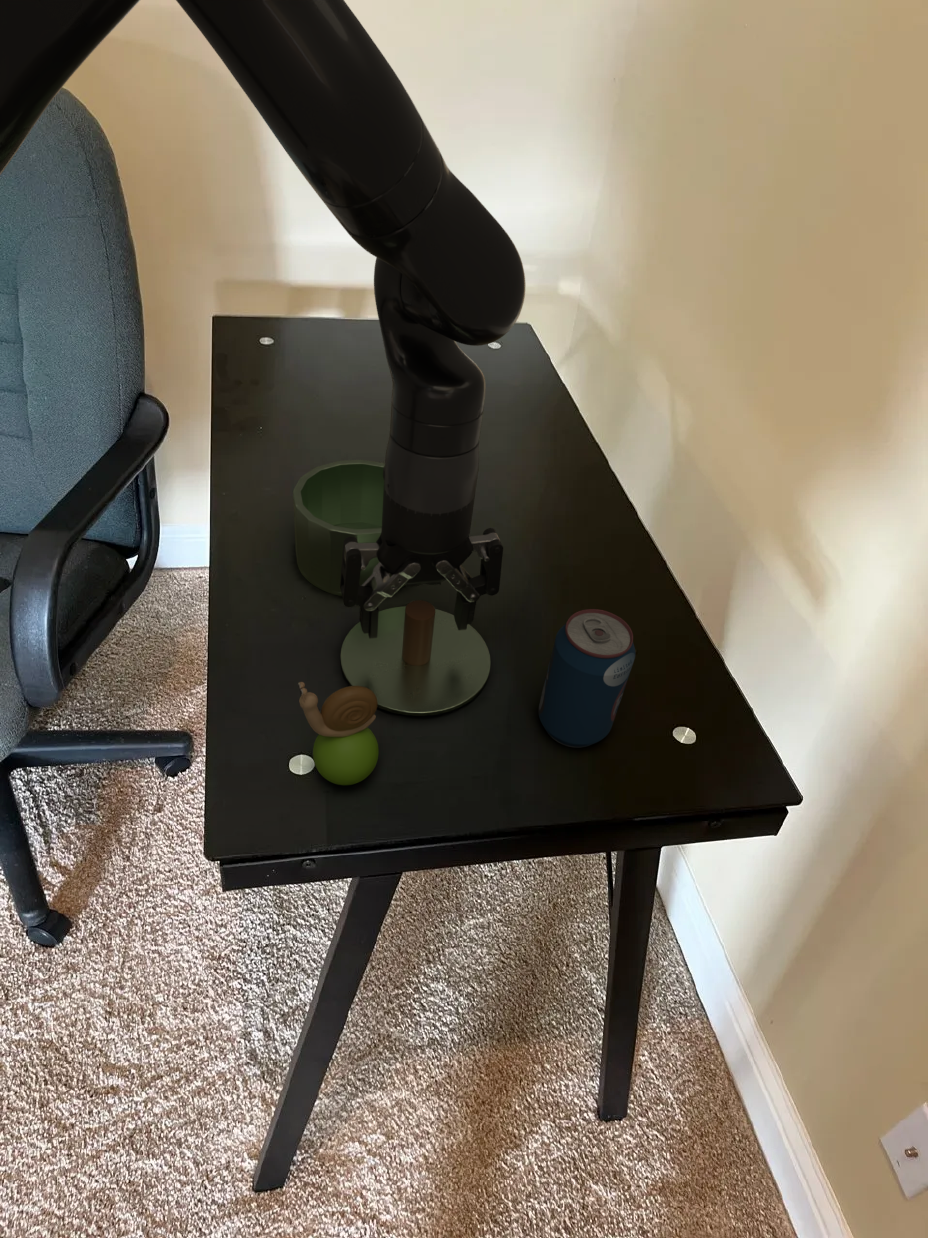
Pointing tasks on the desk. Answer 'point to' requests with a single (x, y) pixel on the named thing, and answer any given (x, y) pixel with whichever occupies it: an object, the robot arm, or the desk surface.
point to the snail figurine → (343, 733)
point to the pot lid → (417, 660)
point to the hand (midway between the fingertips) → (416, 628)
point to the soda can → (586, 677)
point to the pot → (336, 518)
